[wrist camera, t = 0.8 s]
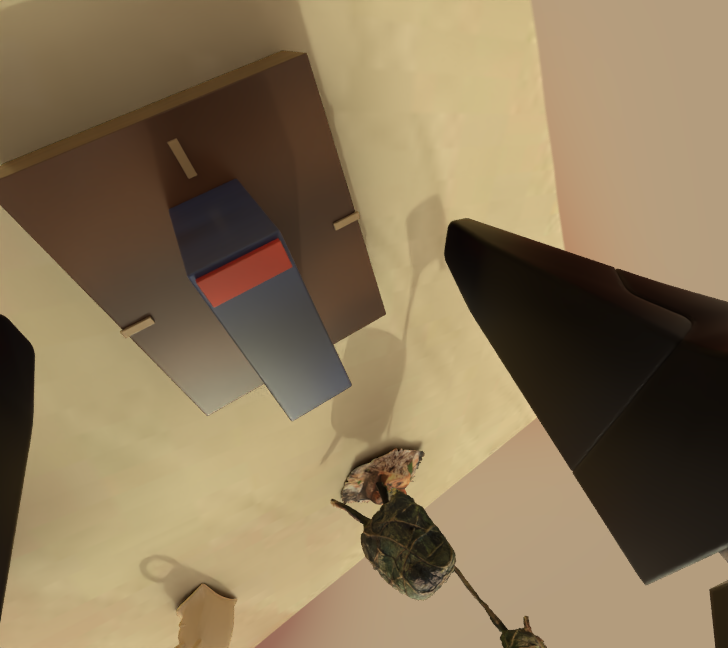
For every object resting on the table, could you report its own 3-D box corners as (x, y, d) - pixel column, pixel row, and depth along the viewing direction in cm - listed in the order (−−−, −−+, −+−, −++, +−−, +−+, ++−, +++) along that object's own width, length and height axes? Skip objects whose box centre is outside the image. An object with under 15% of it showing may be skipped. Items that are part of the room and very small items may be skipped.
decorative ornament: (201, 622, 40) (210, 684, 36) (152, 604, 35) (157, 675, 31) (237, 599, 41) (249, 657, 37) (196, 577, 35) (205, 643, 32)
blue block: (305, 315, 21) (355, 390, 17) (256, 342, 21) (293, 426, 16) (236, 177, 16) (281, 232, 12) (167, 209, 15) (187, 279, 11)
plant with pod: (352, 438, 35) (515, 719, 21) (429, 446, 42) (589, 657, 28) (308, 501, 37) (427, 794, 23) (389, 498, 44) (518, 718, 30)
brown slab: (365, 290, 26) (389, 314, 24) (197, 383, 24) (206, 419, 22) (285, 49, 17) (310, 51, 15) (-2, 165, 15) (-24, 188, 13)
